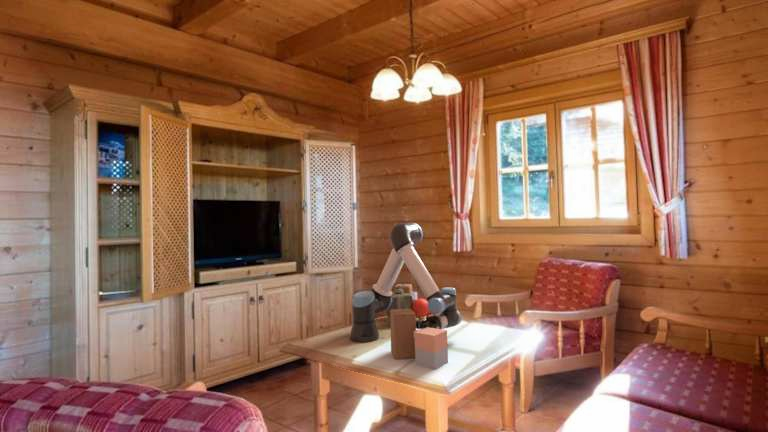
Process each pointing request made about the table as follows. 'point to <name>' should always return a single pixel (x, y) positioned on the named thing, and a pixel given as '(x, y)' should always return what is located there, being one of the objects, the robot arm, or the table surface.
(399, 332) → the wooden block
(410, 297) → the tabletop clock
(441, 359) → the tower base
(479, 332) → the table surface
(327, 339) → the table surface
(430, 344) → the tower top
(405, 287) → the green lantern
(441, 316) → the robot arm
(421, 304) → the molecule
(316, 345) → the table surface
